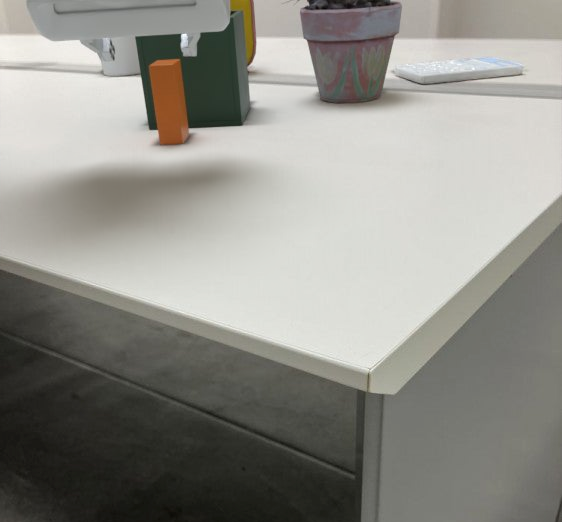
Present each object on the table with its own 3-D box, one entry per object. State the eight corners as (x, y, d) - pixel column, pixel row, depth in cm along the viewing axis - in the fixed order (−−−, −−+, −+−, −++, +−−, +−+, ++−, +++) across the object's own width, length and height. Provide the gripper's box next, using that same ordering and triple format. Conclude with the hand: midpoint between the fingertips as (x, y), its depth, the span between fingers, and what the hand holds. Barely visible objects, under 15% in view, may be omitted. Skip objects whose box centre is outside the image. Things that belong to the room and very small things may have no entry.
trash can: (149, 129, 99) (132, 23, 92) (167, 111, 110) (153, 15, 103) (242, 125, 98) (233, 17, 91) (250, 107, 109) (243, 9, 102)
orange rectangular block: (160, 150, 88) (148, 65, 82) (168, 141, 92) (156, 60, 87) (183, 149, 87) (172, 64, 82) (190, 140, 92) (180, 58, 86)
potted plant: (295, 89, 121) (288, -79, 108) (407, 86, 117) (413, -89, 104) (275, 110, 106) (264, -83, 93) (403, 106, 102) (410, -94, 89)
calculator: (392, 75, 128) (392, 64, 127) (489, 65, 132) (490, 54, 131) (421, 85, 117) (421, 73, 116) (526, 74, 121) (527, 62, 120)
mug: (133, 76, 146) (127, 34, 142) (92, 76, 150) (85, 35, 146) (164, 67, 157) (159, 27, 153) (125, 67, 160) (119, 29, 156)
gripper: (220, -84, 63) (241, 24, 77) (8, -68, 65) (64, 35, 78) (219, -27, 62) (240, 73, 75) (2, -13, 64) (60, 83, 77)
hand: (149, 54), depth 77 cm, fingers open, 8 cm apart
